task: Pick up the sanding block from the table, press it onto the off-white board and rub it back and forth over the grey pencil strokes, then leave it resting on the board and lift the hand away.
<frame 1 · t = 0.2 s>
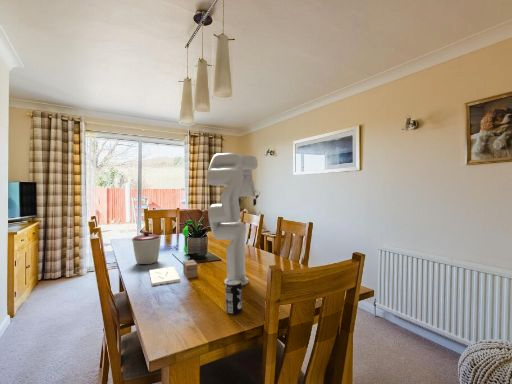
hand: (246, 205, 172), 37 cm above the table, tool pointing down, fingers open, 9 cm apart
plastic bottle: (190, 254, 201), on the table
board: (163, 276, 152), on the table
canister: (147, 263, 181), on the table
beverage can: (234, 312, 109), on the table
sanding block: (190, 274, 155), on the table
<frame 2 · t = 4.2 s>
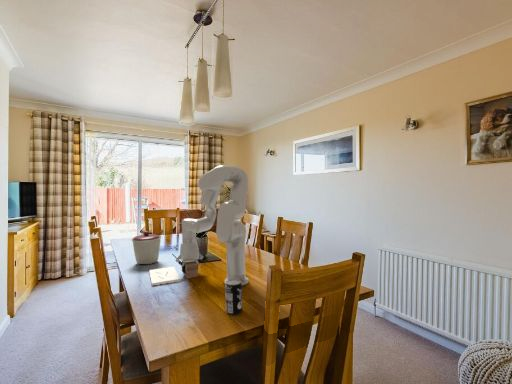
hand: (190, 271, 155), 2 cm above the table, tool pointing down, fingers closed on sanding block, 6 cm apart
sanding block: (190, 274, 155), on the table, touching gripper
everything else where it was.
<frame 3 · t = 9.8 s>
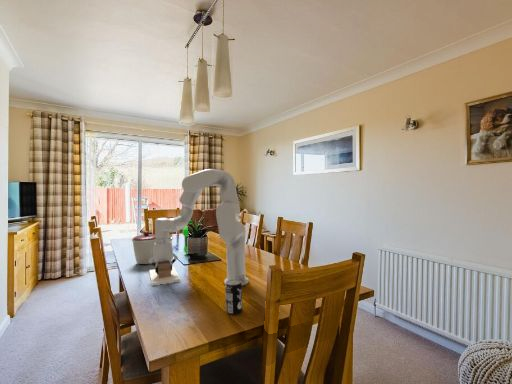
hand: (163, 272, 151), 3 cm above the table, tool pointing down, fingers closed on sanding block, 6 cm apart
sanding block: (164, 274, 151), point 2 cm above the table, touching gripper
everything else where it was.
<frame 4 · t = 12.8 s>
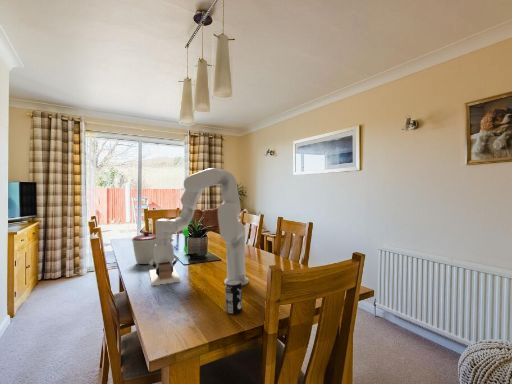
hand: (164, 274, 148), 3 cm above the table, tool pointing down, fingers closed on sanding block, 6 cm apart
sanding block: (164, 276, 148), point 2 cm above the table, touching gripper
everything else where it was.
when the fingers open (3 cm above the table, at t = 15.6 s): sanding block stays where it is, resting on board.
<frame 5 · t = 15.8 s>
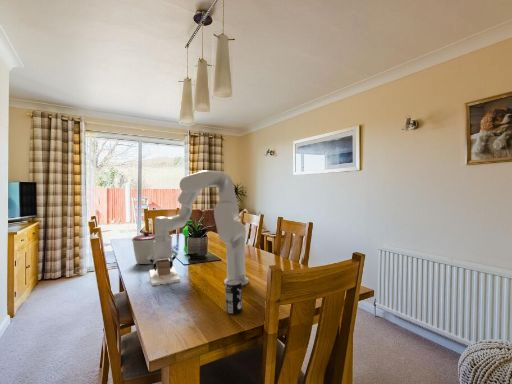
hand: (163, 269, 155), 4 cm above the table, tool pointing down, fingers open, 7 cm apart
sanding block: (163, 272, 155), point 2 cm above the table, touching board
everything else where it was.
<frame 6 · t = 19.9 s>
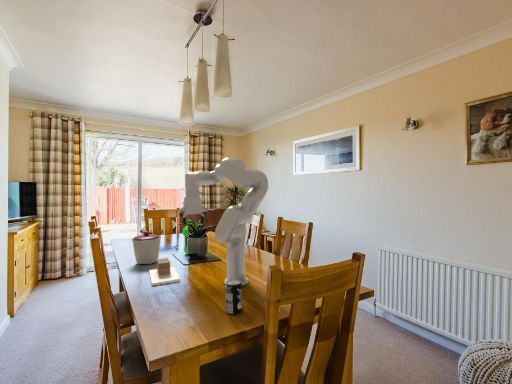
hand: (193, 224, 157), 28 cm above the table, tool pointing down, fingers open, 9 cm apart
nothing on the table moved.
at the end: sanding block inside the target area (1.8 cm from its centre), point 1.5 cm above the table; sanding block tilted 0°; sanding block touching board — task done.
